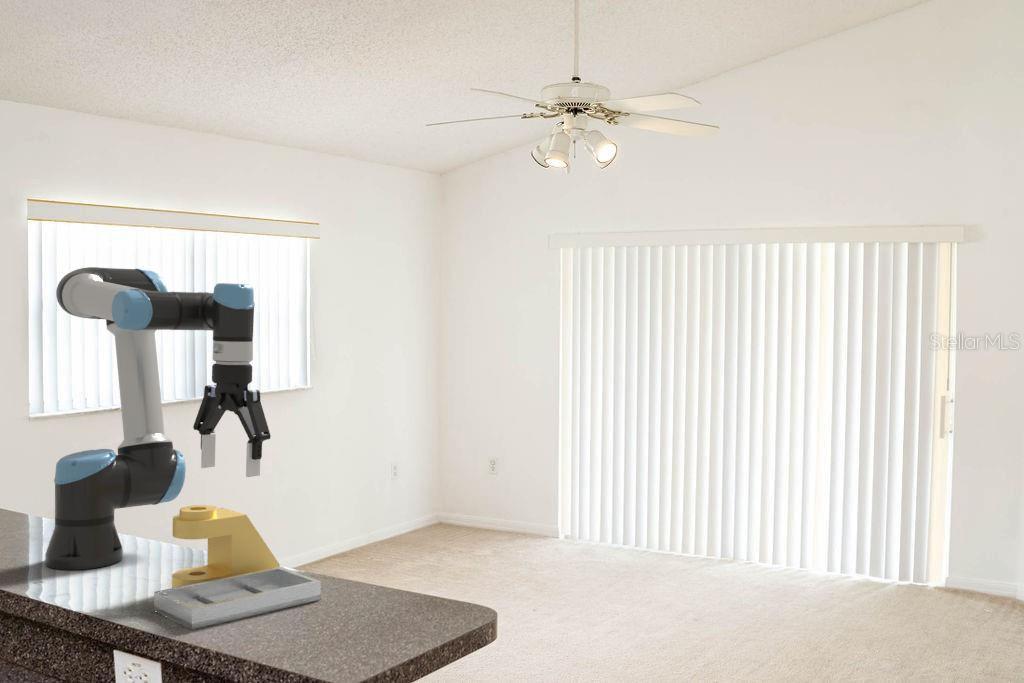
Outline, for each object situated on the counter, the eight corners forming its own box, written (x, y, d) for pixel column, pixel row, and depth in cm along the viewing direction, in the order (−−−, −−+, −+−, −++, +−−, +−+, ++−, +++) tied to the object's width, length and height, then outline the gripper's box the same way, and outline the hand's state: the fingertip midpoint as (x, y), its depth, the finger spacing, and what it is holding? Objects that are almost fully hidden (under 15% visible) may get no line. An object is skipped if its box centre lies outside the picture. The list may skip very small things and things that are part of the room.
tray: (153, 611, 172) (154, 591, 172) (280, 584, 191) (280, 566, 191) (191, 629, 162) (192, 609, 162) (320, 599, 181) (321, 581, 181)
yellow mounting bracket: (186, 600, 179) (187, 515, 179) (163, 590, 185) (164, 508, 185) (279, 581, 193) (280, 502, 193) (254, 572, 200) (255, 495, 199)
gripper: (176, 359, 190) (174, 465, 191) (259, 367, 176) (256, 482, 177) (208, 358, 197) (205, 461, 197) (291, 366, 182) (288, 477, 183)
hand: (230, 471), depth 187 cm, fingers open, 13 cm apart
